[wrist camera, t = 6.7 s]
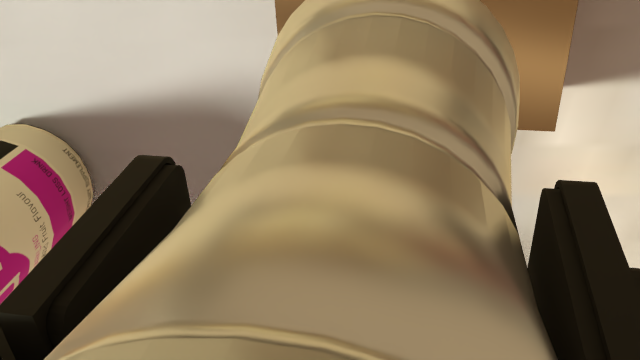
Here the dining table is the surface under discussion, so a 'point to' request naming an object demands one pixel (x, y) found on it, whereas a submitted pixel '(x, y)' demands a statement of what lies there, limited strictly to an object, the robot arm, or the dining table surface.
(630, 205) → the dining table surface
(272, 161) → the plastic bottle
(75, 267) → the robot arm
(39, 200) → the supplement can
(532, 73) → the walnut block
